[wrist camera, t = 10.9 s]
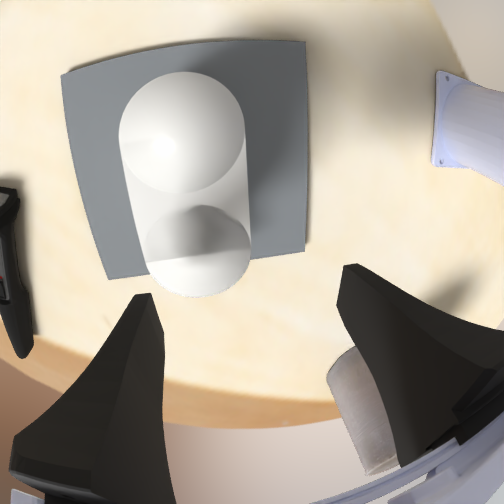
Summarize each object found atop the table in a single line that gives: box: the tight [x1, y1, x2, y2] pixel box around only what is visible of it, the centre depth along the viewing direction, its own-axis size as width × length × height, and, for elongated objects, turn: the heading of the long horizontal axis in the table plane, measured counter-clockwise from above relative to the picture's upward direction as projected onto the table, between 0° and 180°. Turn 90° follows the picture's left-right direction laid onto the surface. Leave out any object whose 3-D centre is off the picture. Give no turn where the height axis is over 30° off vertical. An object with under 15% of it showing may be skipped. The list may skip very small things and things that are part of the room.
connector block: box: [119, 72, 251, 298], centre depth 13 cm, size 4×11×6 cm, turn 3°
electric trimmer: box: [0, 187, 34, 359], centre depth 16 cm, size 4×16×3 cm, turn 162°
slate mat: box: [61, 40, 308, 280], centre depth 16 cm, size 14×14×1 cm
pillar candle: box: [327, 346, 399, 476], centre depth 25 cm, size 10×10×15 cm
